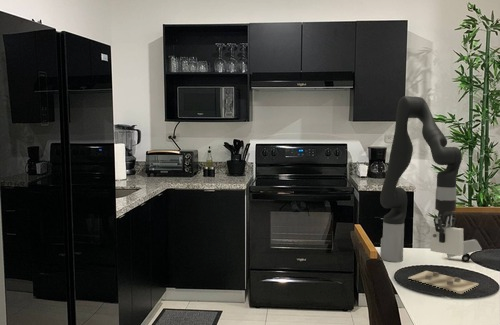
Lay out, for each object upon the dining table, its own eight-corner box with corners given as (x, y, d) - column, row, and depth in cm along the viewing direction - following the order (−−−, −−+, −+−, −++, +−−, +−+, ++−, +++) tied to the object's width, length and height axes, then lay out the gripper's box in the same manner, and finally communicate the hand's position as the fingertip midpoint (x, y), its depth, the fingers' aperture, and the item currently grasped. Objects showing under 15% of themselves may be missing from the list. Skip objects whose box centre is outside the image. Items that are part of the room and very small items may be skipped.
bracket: (450, 265, 230) (484, 258, 223) (443, 245, 231) (476, 236, 224) (451, 263, 234) (485, 256, 226) (444, 243, 235) (477, 235, 228)
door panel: (429, 251, 199) (429, 226, 199) (434, 249, 202) (434, 225, 201) (458, 256, 190) (458, 230, 190) (463, 254, 193) (463, 228, 192)
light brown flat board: (408, 279, 202) (408, 273, 201) (426, 272, 211) (426, 267, 211) (461, 294, 185) (461, 287, 185) (478, 286, 194) (478, 279, 194)
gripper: (445, 195, 203) (444, 237, 204) (427, 198, 193) (426, 242, 195) (463, 197, 197) (462, 240, 198) (446, 201, 188) (444, 246, 189)
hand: (444, 241), depth 197 cm, fingers closed on door panel, 3 cm apart
